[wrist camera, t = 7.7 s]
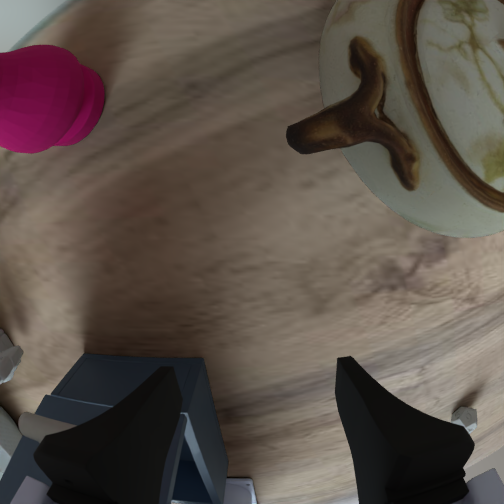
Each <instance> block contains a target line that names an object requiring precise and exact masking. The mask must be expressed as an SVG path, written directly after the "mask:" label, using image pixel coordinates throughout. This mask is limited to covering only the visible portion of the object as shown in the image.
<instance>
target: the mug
mask: <svg viewBox="0 0 504 504" xmlns="http://www.w3.org/2000/svg"><path fill="white" fill-rule="evenodd" d="M22 354H23V350H22V349H21V347H20V346H14V347H13V345H12V343H11V341H10V340H9V338H8V336H7V335H6V334H4V331H3V330H2V329H0V384H1V383H2V382H7V381H10V380H11V379H12V377H13V375H14V371H15V370H16V368H17V366H18V365H19V363H20V362H21V359H20V358H21V356H22Z"/></svg>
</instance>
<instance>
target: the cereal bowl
mask: <svg viewBox="0 0 504 504" xmlns="http://www.w3.org/2000/svg"><path fill="white" fill-rule="evenodd" d="M21 438H22V435H21V433H20V432H19V430H18V427H17V425H16V424H15V422H14V421H13V419H12V418H11V417H10V416H9V415H8V413H7V412H6V411H5V410H4V409H3V408H2V407H1V406H0V472H2V473H3V474H4V472H5V470H6V468H7V465H8V463H9V461H10V459H11V457H12V455H13V453H14V451H15V449H16V447H17V445H18V443H19V441H20V440H21Z"/></svg>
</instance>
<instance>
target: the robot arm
mask: <svg viewBox="0 0 504 504" xmlns="http://www.w3.org/2000/svg"><path fill="white" fill-rule="evenodd" d="M335 396H336V401H337V407H338V412H339V415H340V418H341V421H342V424H343V427H344V431H345V434H346V437H347V440H348V443H349V446H350V450H351V454H352V458H353V464H354V470H355V476H356V483H357V490H358V498H359V504H504V484H503V483H502V480H501V479H500V477H499V475H498V474H497V471H496V469H495V468H492V469H490V470H489V471H486V472H484V473H482V474H480V475H478V476H476V477H474V478H472V479H471V480H469V481H468V482H467V483H465V481H464V479H463V477H465V474H466V473H465V471H464V469H463V467H464V465H465V464H466V462H467V461H468V459H469V457H470V456H471V454H472V452H473V450H474V446H475V443H474V442H473V440H472V438H471V436H470V435H469V433H468V431H467V430H466V429H465V427H464V426H462V425H458V424H454V423H450V422H446V421H443V420H440V419H438V418H435V417H432V416H430V415H427V414H425V413H423V412H421V411H419V410H417V409H415V408H413V407H411V406H409V405H408V404H406V403H404V402H403V401H401V400H400V399H398V398H397V397H395V396H394V395H392V394H391V393H390V392H389V391H387V390H386V389H385V388H384V387H382V386H381V385H380V384H379V383H378V382H377V381H376V380H375V379H373V378H372V377H371V376H370V375H369V374H368V373H367V372H366V371H365V370H364V369H363V368H362V367H361V366H360V365H359V364H358V363H357V362H356V361H355V359H354V358H353V357H351V356H348V357H340V358H337V371H336V384H335ZM182 402H183V398H182V394H181V391H180V388H179V385H178V381H177V378H176V374H175V371H174V367H173V366H160V367H159V368H158V369H157V370H156V371H155V372H154V373H153V374H151V375H150V376H149V377H148V378H147V379H146V380H145V381H144V382H143V383H142V384H141V385H139V386H138V387H137V388H136V389H135V390H134V391H133V392H131V393H130V394H129V395H128V396H126V397H125V398H124V399H123V400H121V401H120V402H119V403H117V404H116V405H115V406H113V407H112V408H110V409H109V410H107V411H105V412H104V413H102V414H100V415H99V416H97V417H95V418H93V419H91V420H89V421H87V422H85V423H83V424H80V425H78V426H75V427H73V428H70V429H67V430H64V431H61V432H57V433H53V434H49V435H45V437H44V438H43V440H42V441H41V443H40V444H39V446H38V447H37V449H36V450H35V452H34V453H33V457H34V460H35V462H36V464H37V465H38V466H39V468H40V469H41V470H42V471H43V472H44V473H45V475H46V476H47V477H48V478H49V479H50V480H51V481H52V482H53V483H52V485H51V487H49V486H48V485H46V484H44V483H43V482H40V481H38V480H36V479H34V478H31V477H29V476H26V478H25V479H24V481H23V483H22V484H21V486H20V488H19V489H18V491H17V493H16V494H15V496H14V498H13V499H12V501H11V503H10V504H159V498H160V490H161V484H162V477H163V472H164V467H165V461H166V458H167V454H168V451H169V448H170V445H171V442H172V439H173V436H174V433H175V430H176V427H177V424H178V421H179V418H180V413H181V408H182ZM223 504H257V500H256V495H255V490H254V485H253V480H252V479H238V478H226V486H225V494H224V502H223Z"/></svg>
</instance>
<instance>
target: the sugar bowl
mask: <svg viewBox="0 0 504 504" xmlns="http://www.w3.org/2000/svg"><path fill="white" fill-rule="evenodd" d="M319 76H320V88H321V94H322V99H323V104H324V109H323V110H321V111H319V112H318V113H316V114H314V115H312V116H310V117H308V118H306V119H304V120H302V121H300V122H298V123H295V124H293V125H290V126H288V128H287V131H286V138H287V142H288V144H289V146H290V147H291V148H293V149H294V150H296V151H297V152H299V153H300V154H311V153H316V152H320V151H325V150H330V149H336V148H341V150H342V152H343V154H344V156H345V157H346V159H347V160H348V162H349V163H350V164H351V166H352V167H353V169H354V170H355V172H356V173H357V174H358V176H359V177H360V178H361V180H362V181H363V182H364V183H365V184H366V186H367V187H368V188H369V189H370V190H371V191H372V192H373V193H374V194H375V195H376V196H377V197H378V198H379V199H380V200H381V201H382V202H384V203H385V204H386V205H387V206H388V207H389V208H390V209H391V210H393V211H394V212H396V213H397V214H399V215H400V216H402V217H403V218H405V219H406V220H408V221H409V222H411V223H413V224H415V225H417V226H419V227H421V228H424V229H426V230H429V231H431V232H434V233H437V234H441V235H446V236H452V237H466V238H475V237H482V236H489V235H492V234H495V233H498V232H502V231H504V0H337V1H336V2H335V4H334V6H333V7H332V9H331V11H330V13H329V15H328V18H327V20H326V22H325V26H324V29H323V32H322V36H321V41H320V50H319Z"/></svg>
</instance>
